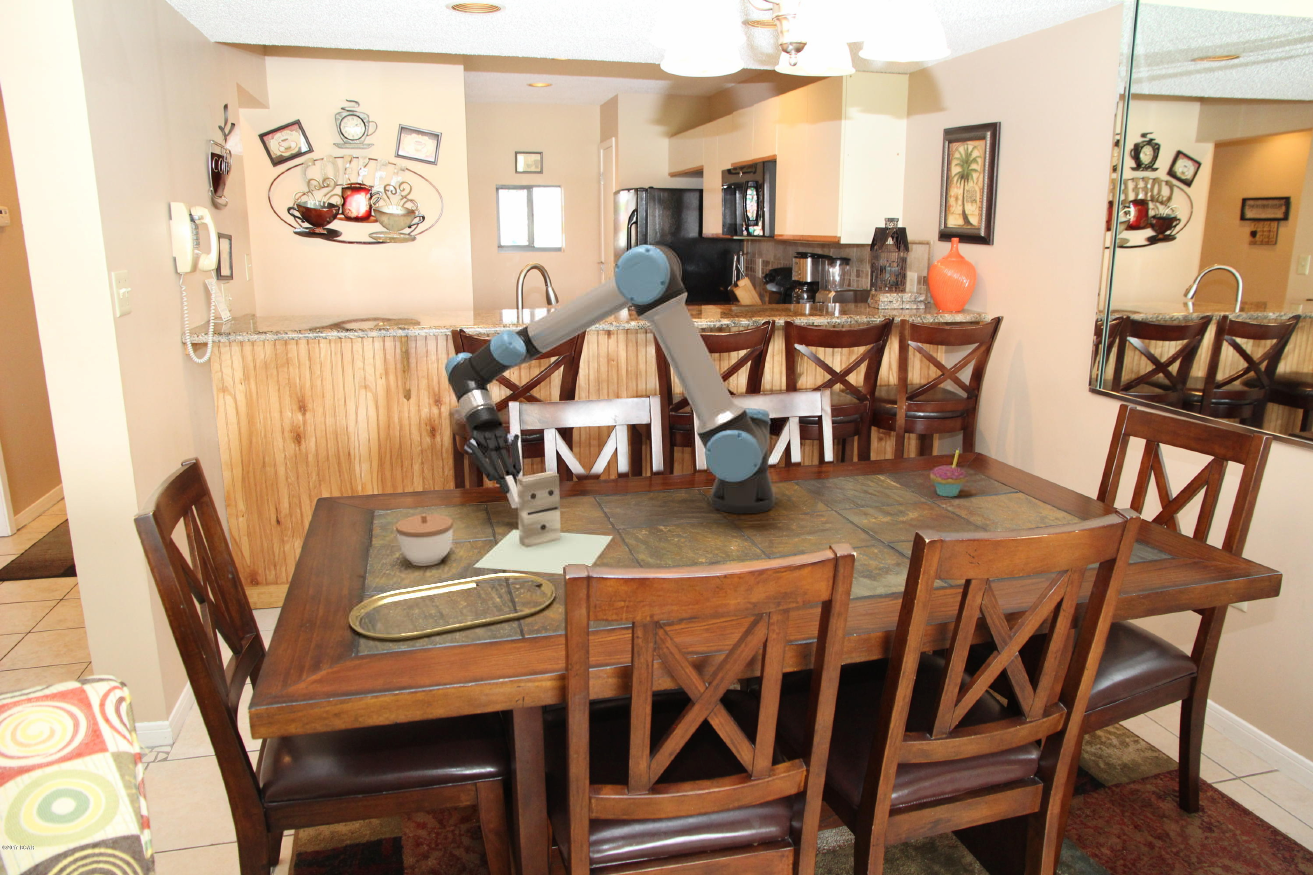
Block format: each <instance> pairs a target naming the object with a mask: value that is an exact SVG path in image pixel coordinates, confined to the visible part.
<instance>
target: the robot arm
mask: <svg viewBox="0 0 1313 875" xmlns="http://www.w3.org/2000/svg"><path fill="white" fill-rule="evenodd" d="M677 255H678V254H676V253H675V252H674V251H673V250H672V249H671V248H669V247H668V246H665V245H662V244H639V245H637V246H635V247H632V248H630V249H628V250H627V251H626V252H624V253H623V254H622V256H621V257H620V258H619V260H618V262H617V264H616V266H615V271H614V276H613V277H611V278H609V279H607V280H606V281H604V282H602V283H600V284H599V285H597V286H596V287H593V288H591V289H590V290H588V291H586V292H585V293H583V294H580V295H579V296H578V297H576V298H574V299H572V300H571V301H569V302H567V303H565V304H563V305H561V306H560V307H558V308H556V309H554V310H552V311H551V312H549V313H548V314H545V315H543V316H542V317H540V318H538V319H536V320H535V321H533V322H531V323H530V324H528V325H525V326H524V327H522V328H521V329H519V330H517V331H516V332H515V331H512V330H510V329H505V330H503V331H501V332H500V333H499V334H497V335H494V336H493V337H492V338H491V339H490V340H489V341H488V342H487V343H486V344H484V345H483V346H482V347H480V349H477V351H476V352H475V353H474V354H472V353H469V352H461V353H460V352H459V353H457V355H453V356H451V357H450V358H448V360H447V361H446V362H445V365H444V371H445V373H446V377H447V382H448V384H449V386H450V387H451V389H452V392H453V395H454V397H455V399H456V402H457V404H458V408H459V411H460V413H461V414H462V418H463V419H464V422H465V425H466V428H467V430H468V432H469V435H470V440H468V441H466V442H465V445H464V447H463V450H464V452H466V453H467V454H468V455H469V456H471V458H472V459H473V462H475V464H476V465H477V467H478V468H479V469H480V471H481V472H482V474H483V476H485V477H484V478H486V479H487V480H488V482H494V481H495V482H494V483H495V484H496V485H498V486H499V488H500V490H501V493H502V494H503V495H506V496H507V499H508V501H509V503H510V506H511V508H512V509H516V508H517V509H518V495H517V478H518V477H520V474H521V472H522V469H523V468H522V461H521V455H520V446H519V442H520V441H519V439H520V435H519V434H518V433H515V434H514V435H512V434H510V433H508V430H506V429H505V427H504V426H503V422H502V419H501V417H500V414H499V412H498V410H497V407H496V404H495V402H494V400H493V398H492V395H491V393H490V391H489V388H488V386H489V385H490V384H491V383H493V382H494V381H495V380H497V379H498V378H499V377H501V376H502V375H503V374H505V373H506V372H508V371H509V370H512V369H515V368H517V367H519V366H521V365H525V364H528V363H530V362H532V361H534V360H535V359H536V358H537V357H540V356H541V355H542V354H544V353H546V352H548V351H550V350H552V349H553V348H555V347H558V346H559V345H561V344H563V343H564V342H567V341H568V340H570V339H572V338H574V337H576V336H577V335H579V334H581V333H583V332H585V331H588V330H589V329H590V328H593V326H597V325H599V323H602V322H603V321H605V320H607V319H609V318H611V317H612V316H614V315H616V314H618V313H620V312H622V311H624V310H625V309H628V308H629V307H630V306H632V308H633V310H634V312H635V314H636V316H637V318H638V320H641V321H644V322H647V323H648V324H649V326H650V328H651V330H652V332H653V334H654V336H655V338H656V339H657V342H658V344H659V345H660V347H661V349H662V351H663V353H664V355H665V357H666V360H667V361H668V363H669V365H670V367H671V369H672V372H673V373H674V375H675V377H676V379H677V381H678V384H679V385H680V387H681V389H682V391H683V393H684V395H685V397H686V399H687V401H688V403H689V405H690V407H691V409H692V411H693V412H694V415H695V416H696V418H697V420H698V424H697V428H696V433H697V436H698V438H699V439H700V441H701V444H702V445H703V448H704V450H705V451H704V458H705V463H706V465H707V466H706V467H708V469H709V471H710V472H711V474H713V475H714V476H715V477H716V478H715V481H714V483H713V486H712V489H711V493H710V506H711V507H712V508H714V509H716V510H719V511H721V512H725V513H731V514H744V515H745V514H748V515H749V514H751V515H752V514H760V513H764V512H767V511H771V510H772V509H774V508H775V506H776V494H775V491H774V488H773V485H772V482H771V477H770V474H769V456H770V455H769V453H770V452H769V451H770V450H769V449H770V425H771V418H770V412H769V411H768V410H767V409H763V408H756V407H755V408H754V407H744V406H741V405H738V404H736V403H735V402H734V400H733V398H732V396H731V394H730V392H729V390H728V388H727V386H726V384H725V382H724V380H723V378H722V375H721V374H720V372H719V370H718V368H717V366H716V363H715V362H714V359H713V358H712V356H711V354H710V352H709V349H708V348H707V345H706V344H705V342H704V340H703V338H702V336H701V334H700V332H699V330H698V328H697V326H696V324H695V322H694V320H693V318H692V316H691V314H690V312H689V311H688V308H687V306H686V299H687V296H688V292H687V290H686V288H685V286H684V284H683V281H682V274H683V272H682V271H683V269H682V263H681V260H680V259H679V257H678V256H677ZM506 441H507V445H508V446H509V454H510V455H509V454H508V451H507V450H506V447H507V446H506ZM481 450H482V451H481Z"/></svg>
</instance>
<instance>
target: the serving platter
mask: <svg viewBox="0 0 1313 875" xmlns="http://www.w3.org/2000/svg"><path fill="white" fill-rule="evenodd" d="M505 578H507V579H509V578H514V579H515V578H516V579H517V578H518V579H526V580H532V581H535V582H538V583H540V584H536V585H534V587H536V588H537V589H540V590H541V591H542V592H544V594H545V597H546V598H545V601H544V603H543V604H541V605H540V606H538V607H535V608H532V609H529V610H526V611H523V612H518V613H512V614H508V615H502V616H496V617H492V618H487V619H482V620H475V621H471V622H465V623H459V624H455V625H450V626H449V625H448V626H444V627H439V628H434V629H429V630H424V631H418V632H411V633H402V634H380V633H374V632H373V633H372V632H368V631H365V630H364V629H362V627H361V626H360V620H361V618H362V617H363V616H364V615H365V614H366V613H368V611H371V610H372V609H375V608H376V607H378V606H381V605H384V604H388V603H390V602H395V601H400V600H405V599H411V598H417V597H423V596H428V595H436V594H441V593H447V592H453V591H459V590H463V589H469V588H470V589H471V588H477V587H480V585H479V584H478V583H477V582H481V581H485V580H493V579H505ZM555 596H556V588H555V587H554V585H553V584H552V583H551V582H550V581H548V580H547V579H545V578H542V577H539V576H536V575H532V574H526V573H525V574H524V573H496V574H487V575H482V576H476V577H472V578H464V579H458V580H454V581H447V582H441V583H435V584H429V585H423V586H418V587H411V588H406V589H399V590H395V591H394V590H393V591H389V592H386V593H382V594H379V595H375V596H373V597H371V598H368V599H366V600H364V601H362V602H361V603H359V604H358V605H357V606H355V607H354V608H353V609H352V610H351V612H350V613H349V615H348V621H349V625H350V626H351V627H352V629H354V630H355V631H356V632H358V633H360V634H362V635H363V636H366V637H370V638H373V639H379V640H387V641H388V640H389V641H390V640H392V641H395V640H398V641H399V640H409V639H415V638H421V637H426V636H431V635H436V634H442V633H447V632H454V631H458V630H463V629H464V630H465V629H468V628H469V629H470V628H473V627H477V626H483V625H484V626H485V625H490V624H494V623H498V622H499V623H500V622H504V621H510V620H514V619H516V620H517V619H520V618H524V617H527V616H531V615H533V614H535V613H537V612H540V611H541V610H543V609H544V608H546V607H547V606H548V605H549V604H550V603H551V602H552V601H553V599H554V598H555Z"/></svg>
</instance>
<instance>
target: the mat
mask: <svg viewBox="0 0 1313 875" xmlns="http://www.w3.org/2000/svg"><path fill="white" fill-rule="evenodd" d="M613 538H614V536H613V535H604V534H603V535H601V534H599V535H597V534H589V533H588V534H587V533H585V534H584V533H574V532H573V533H568V532H561V540H557V541H552V542H548V543H543V544H539V545H535V546H530V547H525V546H523V545H521V544H520V543H519V529H513V530H511V531H510V532H509V533H508V534H507V535H506V536H505V537H504V538H503V539H501V541H499V543H497V544H496V545H495V546H494V547H493V548H492V549H491V550H490V551H489V552H488V553H487V554H485V555H484V556H483V557H482V558H481V559H480V560H479V561H478V562H476V563H475V565H473V568H479V569H480V568H481V569H491V570H492V569H494V570H506V571H517V572H519V571H521V572H532V573H534V572H535V573H544V574H545V573H547V574H557V575H558V574H559V575H564V574H563V567H564V566H565V565H568V564H585V565H588V566H591V567H592V565H593V564H594V563H595V561H596V560H597V559H598V557H599V556H600V555H601V554H602V552H603V551H604V549H605V548H606V547H607V545H609V543H610V541H611V540H612V539H613Z"/></svg>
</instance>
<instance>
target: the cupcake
mask: <svg viewBox="0 0 1313 875" xmlns="http://www.w3.org/2000/svg"><path fill="white" fill-rule="evenodd" d="M959 455H960V447H958V448H957V450H956V451H955V455H954V459H953V464H952V465H948V464H946V465H945V464H944V465H938V466H936V467H934V468H933V469H931V471H930V474H929V477H930V480H931V481H932V482H933V483H934V485H935V489H936V493H937V495H938V496H942V497H947V498H948V497H949V498H950V497H951V498H952V497H957V496H958V495H959V492H960V490H961V487H962V485H963V484H966V482H967V478H968V474H967V472H965V470H963V469H962V468H960V467H959V466H957V461H958V458H959Z"/></svg>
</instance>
